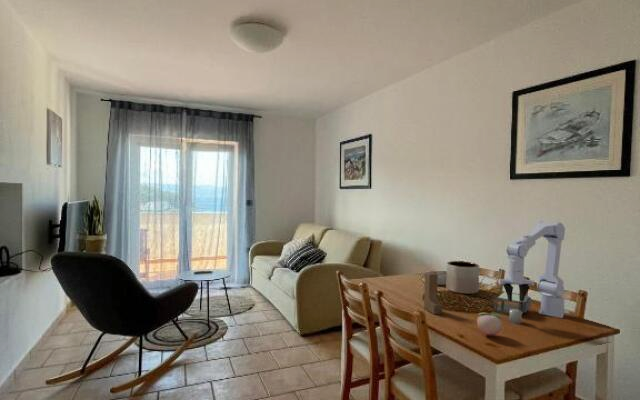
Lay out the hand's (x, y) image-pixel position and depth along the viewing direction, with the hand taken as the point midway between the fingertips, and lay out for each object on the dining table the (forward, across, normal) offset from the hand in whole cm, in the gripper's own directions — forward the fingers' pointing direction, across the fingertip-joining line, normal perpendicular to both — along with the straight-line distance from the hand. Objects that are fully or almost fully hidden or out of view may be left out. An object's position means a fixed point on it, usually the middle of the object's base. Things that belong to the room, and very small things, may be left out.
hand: (515, 300), depth 158 cm
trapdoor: (+7, -6, -14) cm, 17 cm away
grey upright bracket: (+10, +34, -10) cm, 36 cm away
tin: (+10, +18, -60) cm, 63 cm away
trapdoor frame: (+9, -5, -15) cm, 18 cm away
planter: (+10, +8, -49) cm, 50 cm away
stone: (+10, 0, 0) cm, 10 cm away
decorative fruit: (+10, +18, +18) cm, 27 cm away
